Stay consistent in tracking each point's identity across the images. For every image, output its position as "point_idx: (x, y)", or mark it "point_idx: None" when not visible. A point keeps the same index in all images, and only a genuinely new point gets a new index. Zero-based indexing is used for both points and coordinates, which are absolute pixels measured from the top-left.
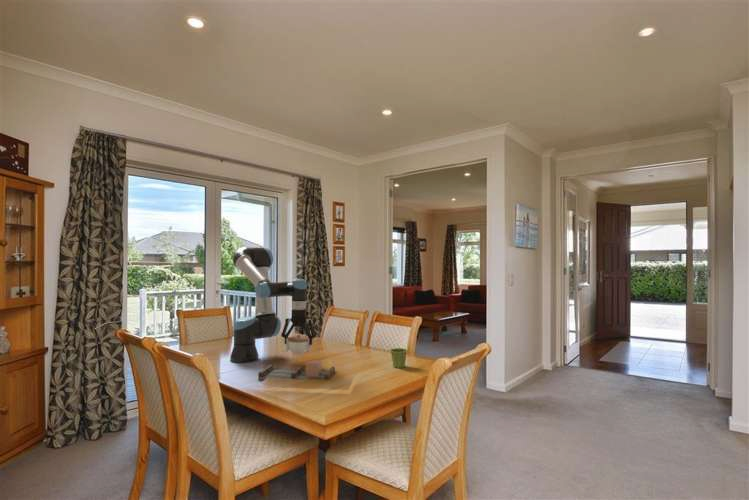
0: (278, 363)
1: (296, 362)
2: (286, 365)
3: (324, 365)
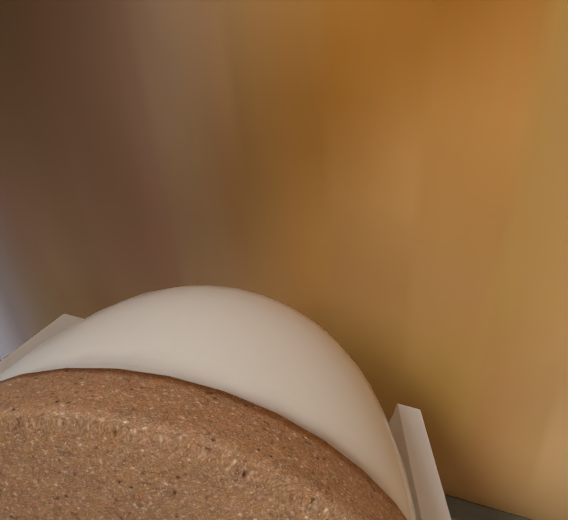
0: (56, 127)
1: (237, 100)
2: (155, 221)
3: (551, 277)
